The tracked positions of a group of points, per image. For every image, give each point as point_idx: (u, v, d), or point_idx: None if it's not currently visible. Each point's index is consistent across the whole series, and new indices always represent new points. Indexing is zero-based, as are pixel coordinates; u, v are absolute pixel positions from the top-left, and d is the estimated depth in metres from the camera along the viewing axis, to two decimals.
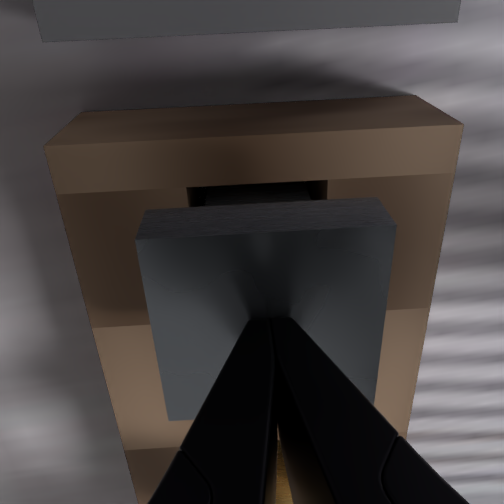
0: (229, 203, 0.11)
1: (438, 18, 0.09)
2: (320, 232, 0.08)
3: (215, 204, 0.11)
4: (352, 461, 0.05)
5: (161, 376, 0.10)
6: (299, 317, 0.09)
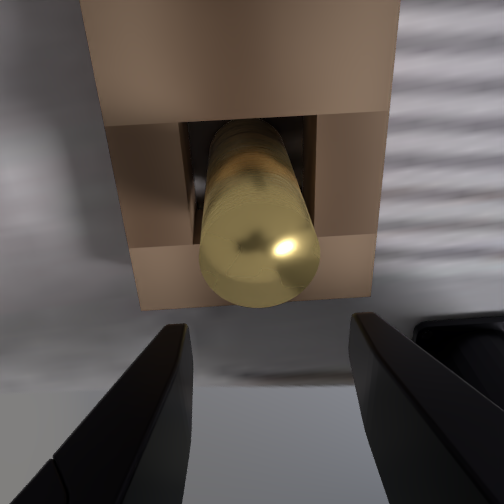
0: None
1: None
2: None
3: None
4: (485, 452, 0.05)
5: None
6: None
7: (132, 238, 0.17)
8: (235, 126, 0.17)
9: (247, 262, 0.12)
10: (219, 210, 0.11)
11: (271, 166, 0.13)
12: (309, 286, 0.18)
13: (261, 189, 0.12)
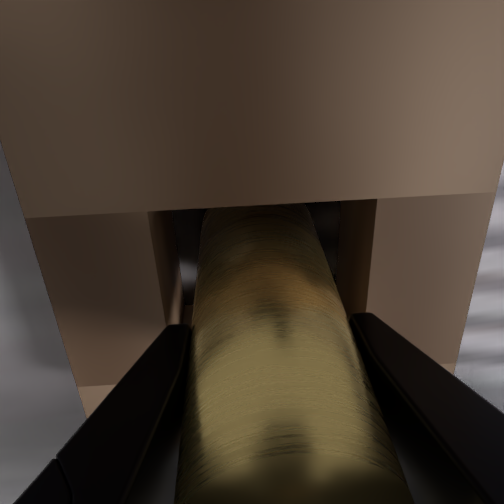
0: None
1: None
2: None
3: None
4: (481, 452, 0.05)
5: None
6: None
7: (82, 373, 0.11)
8: None
9: None
10: (211, 447, 0.06)
11: (308, 307, 0.07)
12: None
13: (299, 399, 0.06)
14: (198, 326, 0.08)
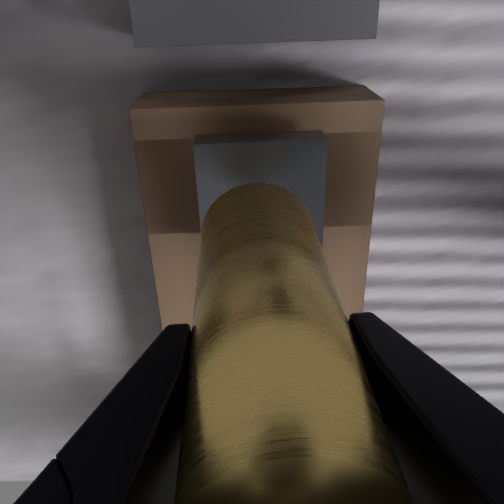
0: None
1: (364, 36, 0.16)
2: (288, 142, 0.15)
3: None
4: (481, 452, 0.05)
5: None
6: None
7: None
8: (240, 202, 0.11)
9: None
10: (211, 450, 0.06)
11: (308, 310, 0.07)
12: None
13: (299, 401, 0.06)
14: (198, 328, 0.08)
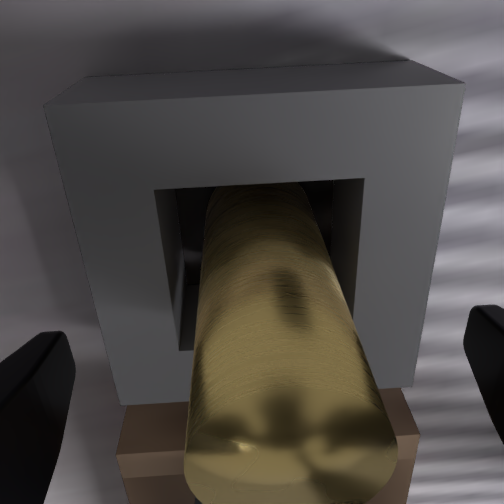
0: None
1: (398, 385, 0.13)
2: None
3: None
4: None
5: None
6: None
7: None
8: None
9: (269, 470, 0.07)
10: (219, 386, 0.06)
11: (304, 274, 0.08)
12: None
13: (295, 345, 0.07)
14: (205, 293, 0.09)
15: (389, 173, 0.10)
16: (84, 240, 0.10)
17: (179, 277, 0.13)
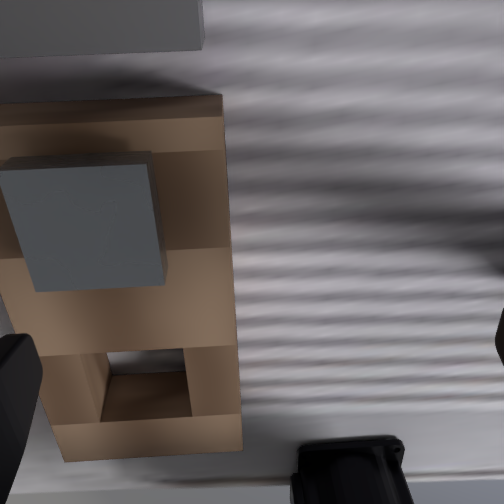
0: None
1: (188, 47, 0.14)
2: (102, 167, 0.14)
3: None
4: None
5: (27, 261, 0.16)
6: (102, 221, 0.15)
7: (53, 419, 0.22)
8: None
9: None
10: None
11: None
12: (194, 445, 0.24)
13: None
14: None
15: None
16: None
17: None
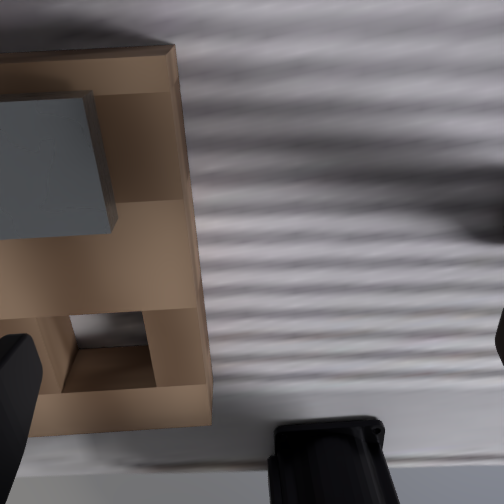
0: None
1: None
2: (36, 102, 0.14)
3: None
4: None
5: None
6: (41, 162, 0.14)
7: None
8: None
9: None
10: None
11: None
12: (160, 419, 0.23)
13: None
14: None
15: None
16: None
17: None
